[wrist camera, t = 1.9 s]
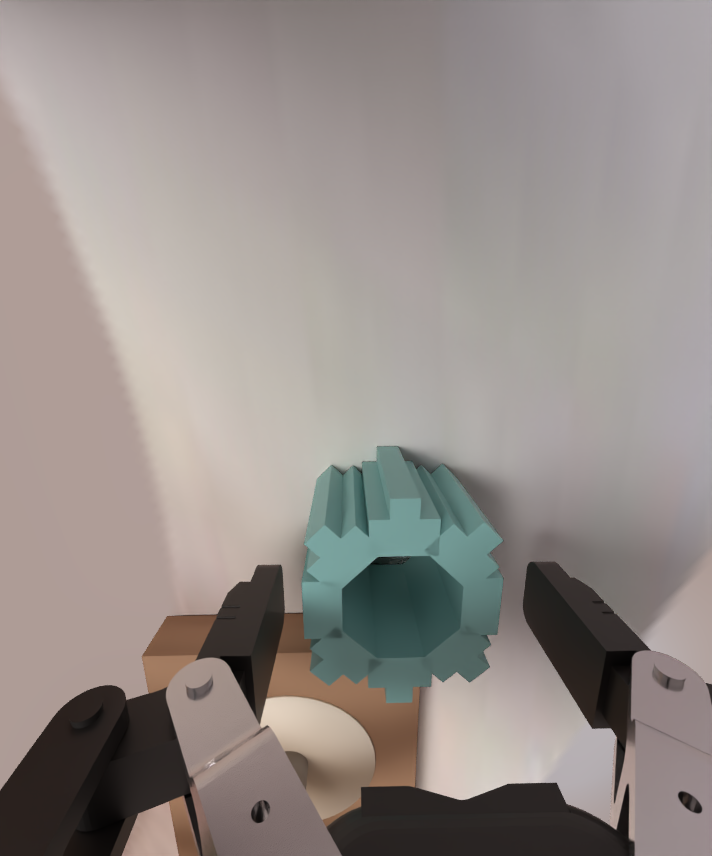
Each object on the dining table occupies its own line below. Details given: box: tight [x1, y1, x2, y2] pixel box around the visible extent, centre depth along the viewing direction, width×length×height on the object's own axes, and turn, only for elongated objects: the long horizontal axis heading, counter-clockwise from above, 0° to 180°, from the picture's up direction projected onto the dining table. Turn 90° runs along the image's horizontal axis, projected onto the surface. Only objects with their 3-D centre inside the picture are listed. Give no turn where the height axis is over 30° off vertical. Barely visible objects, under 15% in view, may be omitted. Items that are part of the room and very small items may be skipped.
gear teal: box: [302, 446, 504, 703], centre depth 13 cm, size 7×6×4 cm
